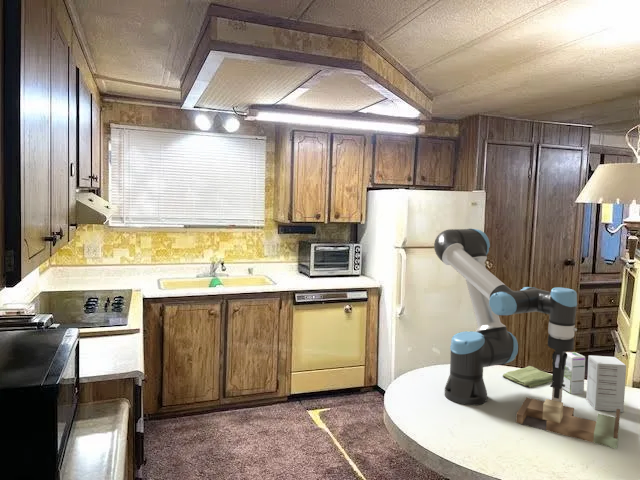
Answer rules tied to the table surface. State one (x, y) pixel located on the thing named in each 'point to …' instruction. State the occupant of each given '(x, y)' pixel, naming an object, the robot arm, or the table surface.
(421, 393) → the table surface
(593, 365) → the supplement box
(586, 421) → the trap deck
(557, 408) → the maple block
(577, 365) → the syrup box
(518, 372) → the washcloth
